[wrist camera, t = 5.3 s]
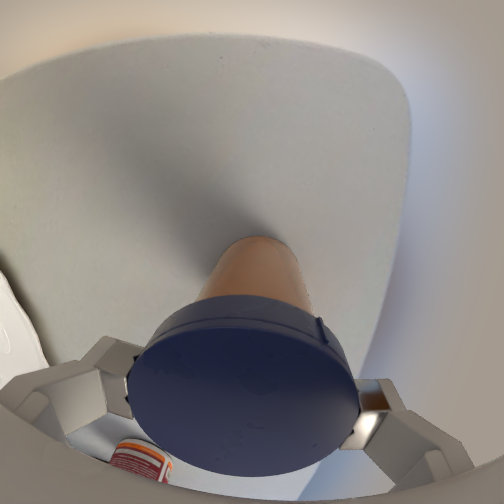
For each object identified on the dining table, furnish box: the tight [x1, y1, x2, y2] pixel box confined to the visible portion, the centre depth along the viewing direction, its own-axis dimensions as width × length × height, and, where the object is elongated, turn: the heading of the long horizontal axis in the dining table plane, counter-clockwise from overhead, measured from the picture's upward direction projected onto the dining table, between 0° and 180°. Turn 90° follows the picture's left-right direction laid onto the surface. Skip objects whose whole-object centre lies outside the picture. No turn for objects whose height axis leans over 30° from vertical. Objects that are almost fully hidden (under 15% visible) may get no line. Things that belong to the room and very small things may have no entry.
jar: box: [195, 236, 314, 316], centre depth 12 cm, size 5×5×10 cm
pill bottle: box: [109, 439, 173, 484], centre depth 17 cm, size 6×6×11 cm
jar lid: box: [127, 295, 360, 477], centre depth 7 cm, size 6×6×2 cm
